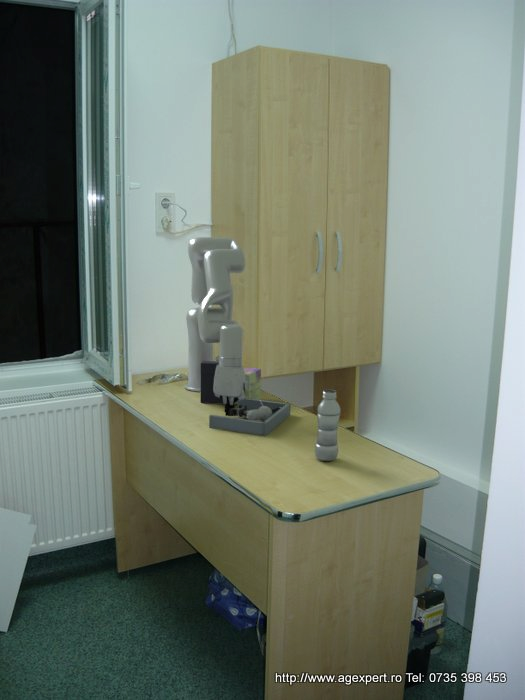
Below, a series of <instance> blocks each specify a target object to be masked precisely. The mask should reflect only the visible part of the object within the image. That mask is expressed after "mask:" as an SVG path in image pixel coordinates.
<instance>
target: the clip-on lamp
mask: <svg viewBox="0 0 525 700" xmlns="http://www.w3.org/2000/svg"><path fill="white" fill-rule="evenodd" d="M261 400H262V399H260V402H261V404H262V407H260V408H259V409H254V410H247V405H245V408H243V409H242V405H239V408H237V407H235V408H231V409H230V416H229V417H236V418H238V419H247V420H252V421H260V422H264V421H265V420H267V419H268V418H269V417H271V416H272V415H273V414H272V412H274V411H277V410H278V409H280V408H282V407H277V408H274V409H272V410H271V409H270V408H269V407H267V406H264V405H263V403H262V401H261Z"/></svg>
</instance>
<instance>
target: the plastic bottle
mask: <svg viewBox="0 0 525 700" xmlns="http://www.w3.org/2000/svg"><path fill="white" fill-rule="evenodd" d="M321 397H322V400H321V402H320V403H319V404H318V405H317V412H316V413H317V427H318V429H317V437H316V438H317V439H316V443H315V447H314V455H315V457H316V459H317V460H319V461H322V462H331V461H332V462H333V461H335V460H336V459H337V458H338V454H339V446H338V445H339V444H338V429H339V420H340V418H341V417H340V416H341V411H342V409H341V407H340V404H339V403H338V401H337V390H333V389H323V391H322V396H321Z"/></svg>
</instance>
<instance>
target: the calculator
mask: <svg viewBox="0 0 525 700" xmlns="http://www.w3.org/2000/svg"><path fill="white" fill-rule="evenodd" d="M218 364H219V361H216V360H215V361H214V360H213V361H202V363H201V392H200V400H199V401H200V403H202V404H216V405H220V404H221V405H225V404H224V403H223V401H222V400H221V398H219V397H216V396H215V393H214V391H213V388H214V377H215V371H216V366H217V365H218ZM230 398H231V397H229V399H230Z"/></svg>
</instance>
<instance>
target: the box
mask: <svg viewBox="0 0 525 700" xmlns="http://www.w3.org/2000/svg"><path fill="white" fill-rule="evenodd" d="M244 372H245V382H246V391H245V398H250V399H257V400H262V399H261V392H262V391H261V390H262V388H261V386H262V385H261V384H262V369H261V368H257V367H246V368H244ZM235 405H237V402H236V403H235Z"/></svg>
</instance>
